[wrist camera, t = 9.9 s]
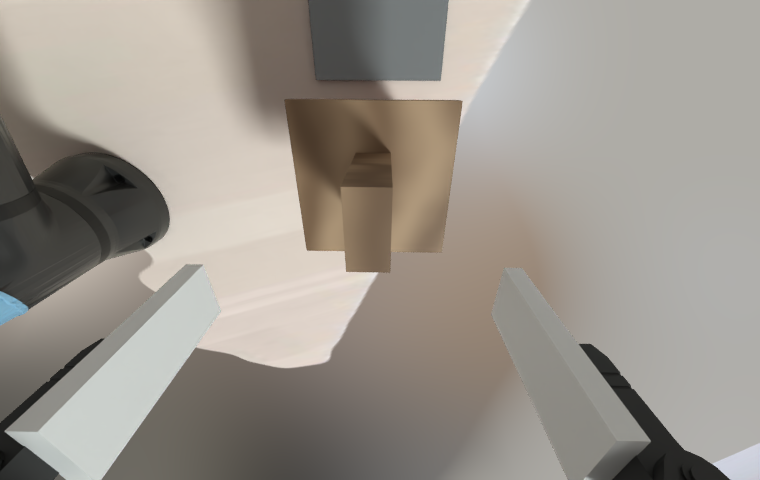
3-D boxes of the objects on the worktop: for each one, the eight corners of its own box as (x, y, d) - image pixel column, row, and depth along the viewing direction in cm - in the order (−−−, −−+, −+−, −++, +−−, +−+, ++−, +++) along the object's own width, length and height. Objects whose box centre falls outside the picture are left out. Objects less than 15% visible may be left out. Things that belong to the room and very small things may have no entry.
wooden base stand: (309, 244, 30) (276, 313, 21) (289, 99, 23) (226, 109, 14) (439, 246, 29) (462, 317, 21) (459, 100, 22) (505, 111, 14)
